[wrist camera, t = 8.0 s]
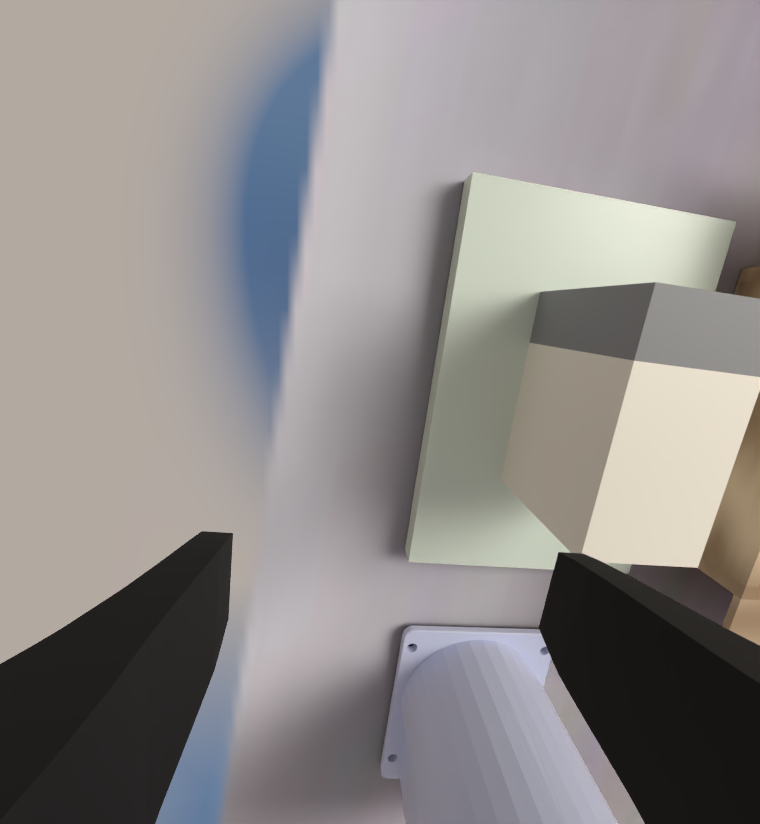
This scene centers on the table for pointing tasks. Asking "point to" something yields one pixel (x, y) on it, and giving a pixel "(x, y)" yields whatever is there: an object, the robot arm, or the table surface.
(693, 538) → the block
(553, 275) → the board
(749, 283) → the light wood shallow tray
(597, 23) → the table surface
